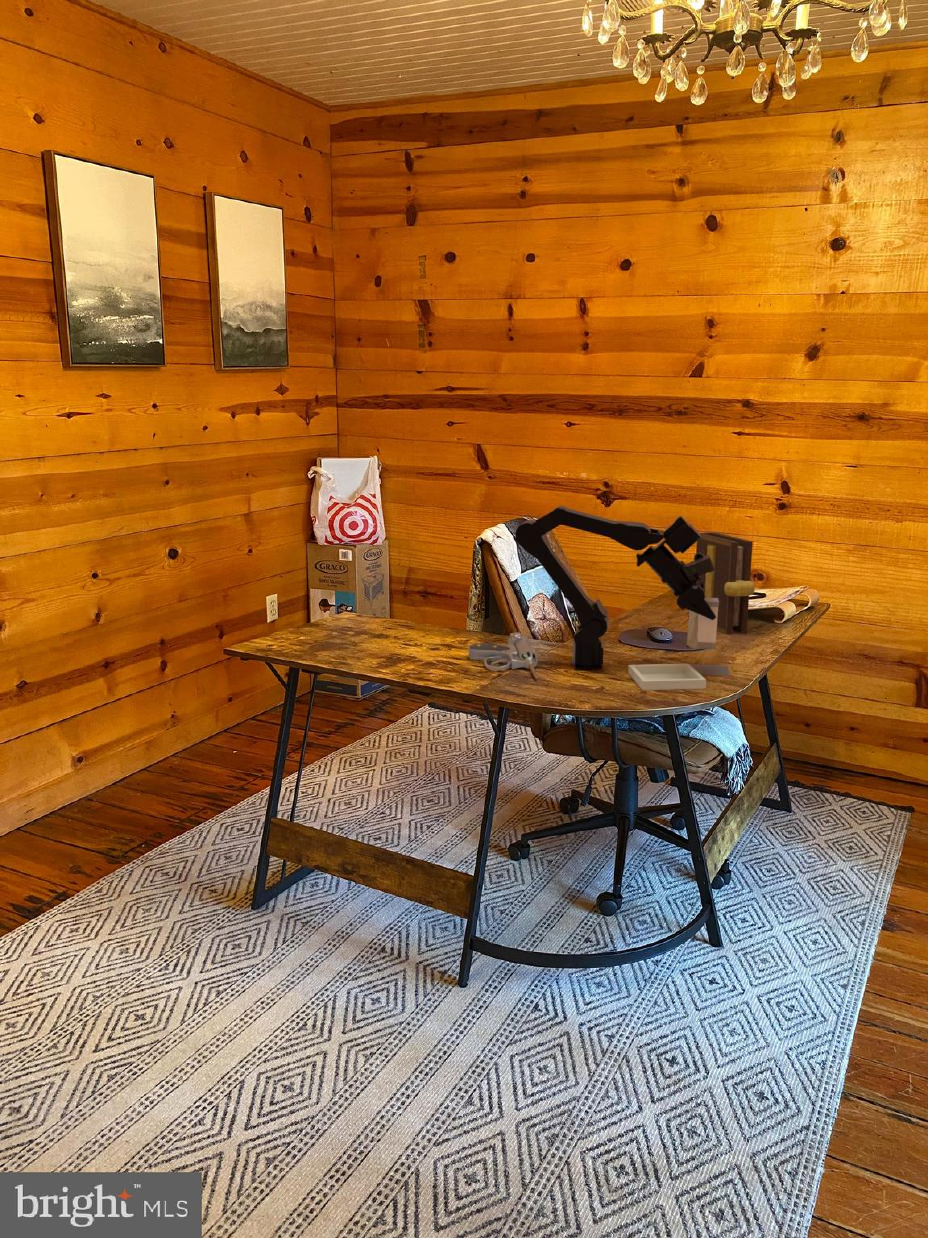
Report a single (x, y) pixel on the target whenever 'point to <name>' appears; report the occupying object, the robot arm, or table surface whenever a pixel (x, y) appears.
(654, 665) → the parts tray
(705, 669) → the holder plate
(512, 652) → the toy pistol
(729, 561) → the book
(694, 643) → the box
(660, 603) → the table surface
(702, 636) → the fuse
